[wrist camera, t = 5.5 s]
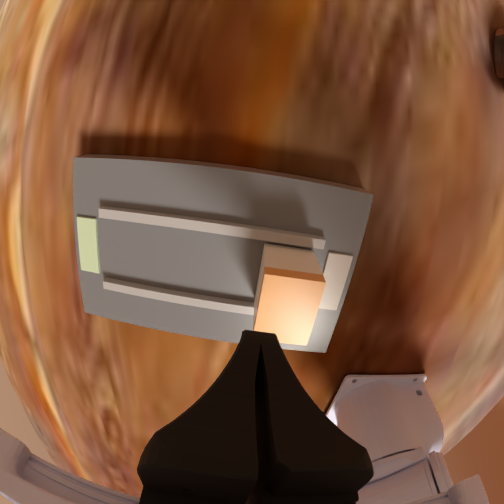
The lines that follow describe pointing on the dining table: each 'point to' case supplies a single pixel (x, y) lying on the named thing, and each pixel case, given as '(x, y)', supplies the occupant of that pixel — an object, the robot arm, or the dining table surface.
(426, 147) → the dining table surface
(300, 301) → the block
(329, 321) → the panel
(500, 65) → the brown animal figurine
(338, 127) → the dining table surface
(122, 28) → the dining table surface
